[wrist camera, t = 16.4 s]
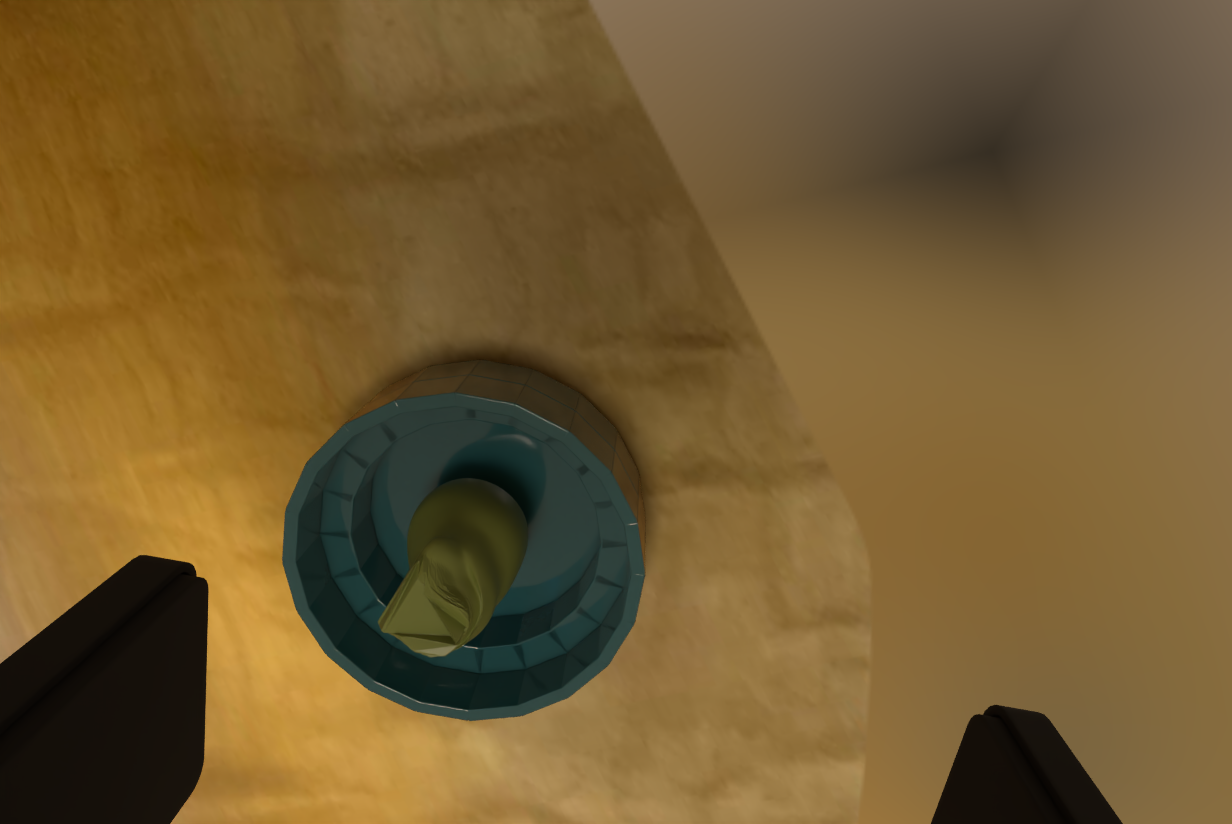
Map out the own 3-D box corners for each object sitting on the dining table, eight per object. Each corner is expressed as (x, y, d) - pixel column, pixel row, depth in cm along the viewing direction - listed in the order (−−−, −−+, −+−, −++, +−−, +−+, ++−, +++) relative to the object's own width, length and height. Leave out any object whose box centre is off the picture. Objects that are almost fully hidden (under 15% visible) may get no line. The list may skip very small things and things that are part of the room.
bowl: (325, 615, 42) (274, 687, 37) (346, 331, 38) (292, 363, 32) (614, 666, 43) (609, 745, 37) (671, 389, 38) (675, 432, 32)
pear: (499, 583, 41) (453, 715, 31) (404, 531, 40) (328, 649, 30) (555, 496, 39) (525, 606, 30) (458, 440, 38) (395, 535, 29)
